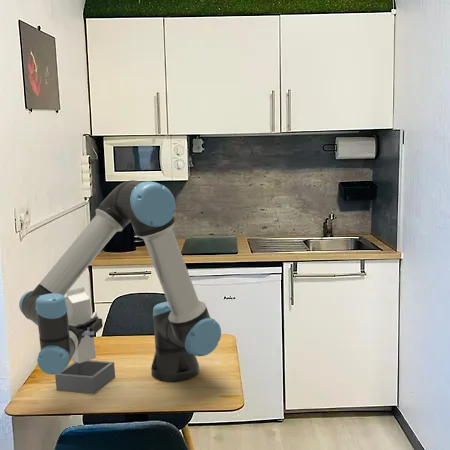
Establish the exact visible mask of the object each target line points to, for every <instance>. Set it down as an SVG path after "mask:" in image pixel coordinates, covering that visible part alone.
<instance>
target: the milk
mask: <svg viewBox="0 0 450 450" xmlns="http://www.w3.org/2000/svg"><path fill="white" fill-rule="evenodd" d="M85 291H86V290H85V287H84V286H83V287H79V288H76V289H69V290H68V292H67V293H66V296H65V300H66V305H67V315H68V325H72V326H77V325H79V324H84V323H86V322H88V321H90V320H91V319H90V318H91V316H92V315H93V313H92V304H91V298H90V296H89V295H87V293H86V292H85ZM95 358H97V357H96V346H95V336H94V337H92V338H91V337H90V336H88V335H85V336H84V338H82V339H81V342H80V344H79V346H78V347H77V349H76V351H75V352H74V354H73V356H72V358H71V360H70V361H73V362H77V363H82V362H85V361H88V360H94V359H95Z"/></svg>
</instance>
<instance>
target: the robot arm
mask: <svg viewBox="0 0 450 450" xmlns="http://www.w3.org/2000/svg"><path fill="white" fill-rule="evenodd" d="M175 210H176V200H175V197H174V194H173V193H172V192H171V190H170V189H169V188H168V187H166V186H165V185H163V184H162V183H161V184H160V183H158V182H156V181H148V180H146V181H141V180H126V181H124V182H121V183H120V184H119V185H117V186H116V187H115V188H114V189H112V191H110V193H109V194H108V195H107V196H106V197H105V198H104V199H103V201H102V202H100V204H99V205H98V207H96V209H95V216H94V217H93V218H92V219H91V220H90V222H89V223H88V224H87V225H86V226H85V227H84V228H83V230H82V232H80V234H79V235H78V236H77V237H76V239H75V240H74V241H73V242H72V243H71V245H70V246H69V247H68V248H67V249H66V250H65V252H64V253H63V254H62V256H61V257H60V258H59V259H58V260H57V262H56V263H55V264H54V265H53V266H52V267H51V269H50V270H49V271H48V272H47V274H46V275H45V276H44V277H43V279H42V280H41V281H40V282H39V284H38V285H36V286H35V288H34V289H33V290H30V291H27V292H25V293H24V294H23V295H22V296H21V298H20V299H19V303H18V304H19V305H18V307H19V310H20V312H21V313H22V314H23V315H24V317H25V318H26V319H27V320H30V321H31V322H33V323H34V324H35V325H36V326H37V328H38V329H37V330H38V335H39V345H40V346H39V347H40V348H39V349H40V351H39V352H38V356H37V358H36V361H37V365H38V367H39V369H40V371H42V373H45V374H47V375H50V376H51V375H52V376H53V375H54V376H55V374H58V373H60V372H62V371H63V370H64V369H65V368H66V367H67V366H69V365H70V362H71V361H72V360H71V358H72V356H73V354H74V352H75V351H76V349H77V347H78V346H79V344H80V342H81V339H82V338H84V336H85V335H88V336H90V337H91V338H92V337H94V338H95V334H97V333H98V332H99V331H101V330H102V328H103V327H104V325H103V319H102V318H99V316H98V313H97V311H94V312H93V313H92V316H91V318H90V319H91V320H90V321H88V322H86V323H84V324H79V325H77V326H72V325H68V315H67V305H66V300H65V298H66V295H67V292H68V291H70V290H71V288H72V287H73V285H74V284H75V283H76V282H77V281H78V280H79V278H80V277H81V275H83V274H84V272H85V271H86V269H87V268H88V267H89V266H90V265H91V264H92V262H93V261H94V259H96V257H97V256H98V255H99V254H100V253H101V251H102V250H103V249H104V248H105V246H106V245H107V244H108V243H109V242H110V240H111V239H112V238H113V237H114V235H115V234H116V233H117V232H123V230H124V229H125V228H126V226H127V225H129V224H130V223H131V226H132V229H133V232H134V233H135V236H136V237H137V238H139V239H142V240H143V241H144V244H145V247H146V250H147V252H148V255H149V258H150V260H151V262H152V265H153V268H154V269H155V272H156V276H157V278H158V280H159V283H160V286H161V289H162V292H163V293H164V296H165V298H166V301H164V302H163V301H162V302H160V303H157V304H155V305H154V307H153V308H152V318H153V321H152V322H153V331H154V333H153V334H154V344H155V345H154V347H155V352H154V355H153V360H152V364H151V367H150V369H151V370H150V371H151V376H152V377H153V378H154V379H156V380H157V381H158V380H159V381H163V382H180V381H185V380H190V379H192V378H194V377H195V376H197V375H198V374H199V372H200V365H199V361H198V359H197V357H205V356H207V355H210V354H211V353H213V352H214V350H216V348H217V347H218V345H219V342H220V341H221V337H222V327H221V326H220V323H219V322H217V320H216V319H214V318H212V317H211V316H210V313H209V311H208V307H207V305H206V303H205V302H203V301H201V300H199V298H198V296H197V292H196V290H195V287H194V284H193V282H192V279H191V277H190V274H189V271H188V268H187V266H186V262H185V260H184V256H183V255H182V252H181V249H180V246H179V244H178V241H177V238H176V236H175V232H174V229H173V227H174V226H175V224H176V219H175Z"/></svg>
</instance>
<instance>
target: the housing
mask: <svg viewBox="0 0 450 450" xmlns="http://www.w3.org/2000/svg"><path fill="white" fill-rule="evenodd" d="M54 376H55V387H56V391H59V392H60V391H62V392H70V393H82V394H90V395H91V394H92V395H95V394H96V393H97V392H98V391H100V390H101V389H103V388H104V387H105V386H107V385H108V384H109V383H110V382H111V381H112V380H113V379H115V378H116V367H115V362H114V361H106V360H105V361H104V360H94V359H91V360H88V361H85V362H82V363H77V362H75V361H73V362H71V363H69V364H68V366H67V367H65V369H64V370H63V371H62V372H60V373H58V374H54Z"/></svg>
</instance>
